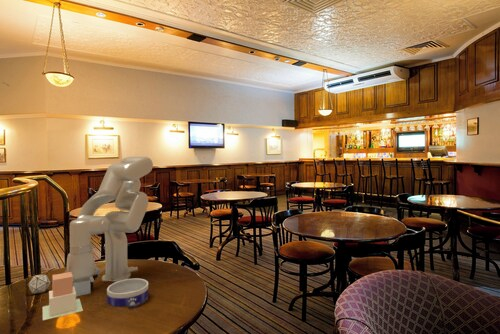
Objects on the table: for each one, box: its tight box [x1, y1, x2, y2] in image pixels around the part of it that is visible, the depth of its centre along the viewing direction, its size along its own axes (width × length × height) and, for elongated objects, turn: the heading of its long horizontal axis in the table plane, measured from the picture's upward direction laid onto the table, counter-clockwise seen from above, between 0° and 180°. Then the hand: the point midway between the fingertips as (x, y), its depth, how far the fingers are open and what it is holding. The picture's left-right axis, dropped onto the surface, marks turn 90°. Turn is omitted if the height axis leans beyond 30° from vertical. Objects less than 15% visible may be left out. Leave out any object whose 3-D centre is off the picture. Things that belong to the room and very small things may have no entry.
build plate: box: [42, 298, 84, 321], centre depth 111 cm, size 12×12×1 cm
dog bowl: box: [106, 277, 149, 309], centre depth 120 cm, size 15×15×6 cm
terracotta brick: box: [51, 272, 73, 297], centre depth 111 cm, size 6×6×6 cm
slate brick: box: [73, 276, 92, 297], centre depth 125 cm, size 6×6×6 cm
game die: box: [25, 272, 52, 296], centre depth 127 cm, size 9×8×10 cm
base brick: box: [48, 286, 77, 316], centre depth 111 cm, size 8×8×6 cm
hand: (81, 292), depth 125 cm, fingers closed on slate brick, 6 cm apart
